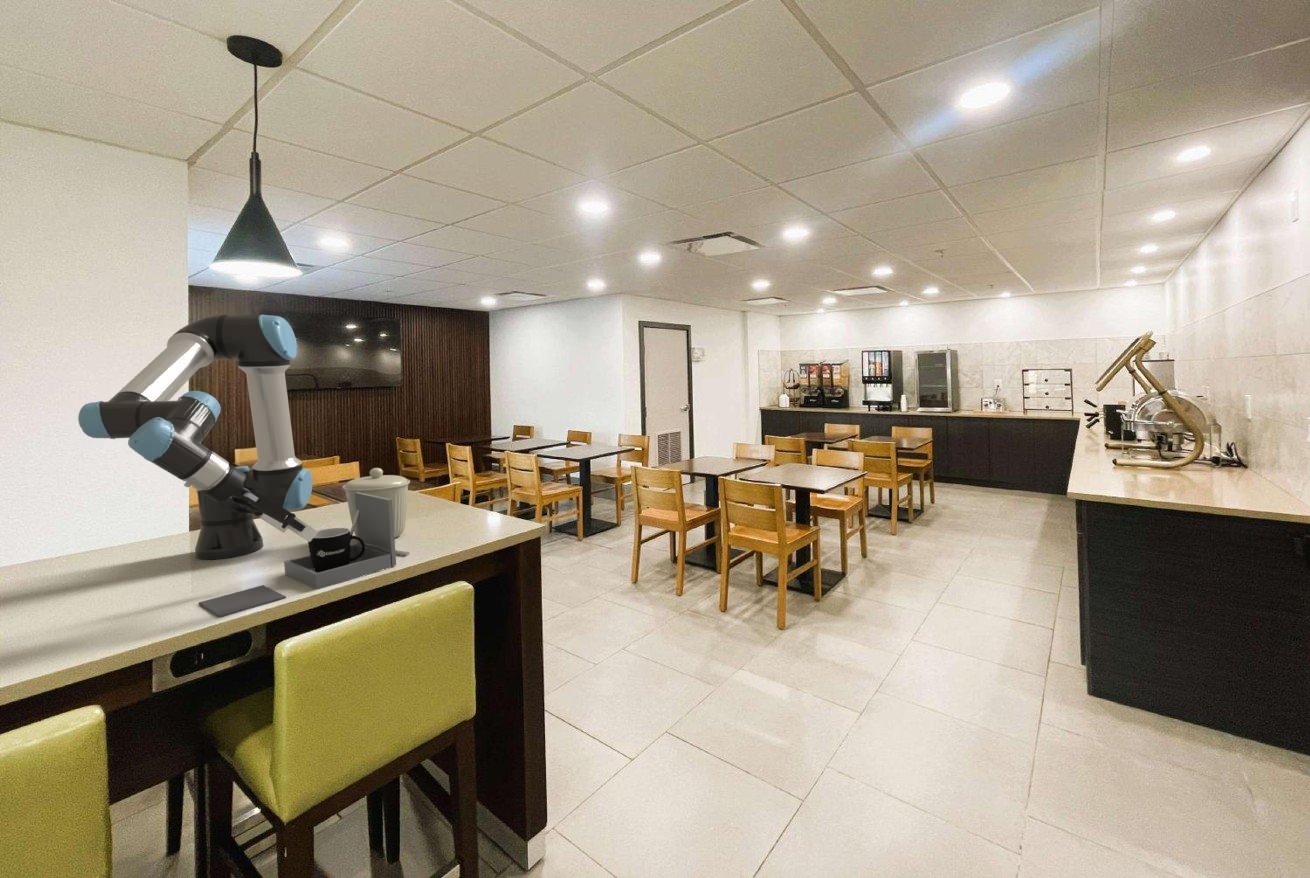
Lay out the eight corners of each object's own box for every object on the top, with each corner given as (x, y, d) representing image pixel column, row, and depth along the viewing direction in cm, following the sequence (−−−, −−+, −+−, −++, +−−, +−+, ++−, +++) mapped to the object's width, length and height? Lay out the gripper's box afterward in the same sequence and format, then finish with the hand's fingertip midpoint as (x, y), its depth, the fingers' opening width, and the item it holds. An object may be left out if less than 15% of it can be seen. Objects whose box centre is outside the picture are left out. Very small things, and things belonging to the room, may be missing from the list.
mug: (311, 581, 132) (307, 540, 131) (310, 570, 140) (307, 531, 139) (367, 572, 138) (365, 532, 137) (364, 562, 146) (362, 524, 145)
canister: (361, 530, 177) (356, 464, 175) (420, 527, 179) (417, 462, 176) (335, 547, 159) (329, 474, 157) (401, 544, 161) (397, 472, 159)
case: (285, 575, 137) (279, 505, 135) (362, 554, 152) (358, 492, 150) (316, 589, 127) (310, 514, 125) (396, 566, 142) (392, 499, 140)
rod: (372, 553, 154) (372, 549, 154) (375, 552, 156) (375, 547, 155) (406, 557, 150) (406, 553, 150) (409, 556, 151) (409, 552, 151)
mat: (198, 604, 119) (198, 602, 119) (263, 586, 129) (263, 585, 129) (219, 617, 112) (219, 615, 112) (286, 598, 122) (285, 596, 122)
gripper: (181, 486, 122) (266, 537, 136) (223, 499, 108) (312, 555, 121) (209, 459, 126) (288, 511, 140) (253, 468, 111) (336, 526, 125)
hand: (300, 532), depth 131 cm, fingers open, 13 cm apart
